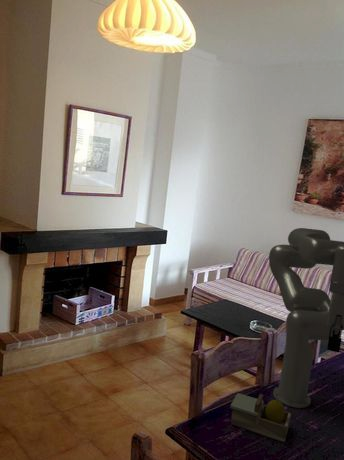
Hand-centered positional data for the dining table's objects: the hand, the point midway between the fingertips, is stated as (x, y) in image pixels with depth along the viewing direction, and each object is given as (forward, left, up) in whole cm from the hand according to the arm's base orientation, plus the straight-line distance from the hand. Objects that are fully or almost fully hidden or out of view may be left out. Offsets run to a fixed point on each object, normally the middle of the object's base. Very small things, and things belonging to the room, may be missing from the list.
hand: (333, 345), depth 121 cm
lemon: (+4, -13, -27) cm, 30 cm away
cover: (+5, -21, -24) cm, 32 cm away
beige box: (+5, -16, -28) cm, 33 cm away
